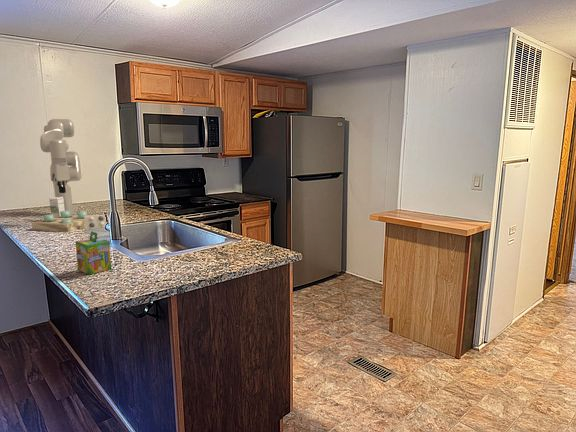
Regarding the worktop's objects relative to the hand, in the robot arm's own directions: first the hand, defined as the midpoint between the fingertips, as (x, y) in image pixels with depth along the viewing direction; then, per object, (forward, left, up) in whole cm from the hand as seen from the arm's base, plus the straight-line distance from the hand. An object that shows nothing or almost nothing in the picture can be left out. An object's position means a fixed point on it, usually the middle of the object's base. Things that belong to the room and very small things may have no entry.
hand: (62, 192), depth 239 cm
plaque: (+5, +26, -19) cm, 32 cm away
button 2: (0, 0, -15) cm, 15 cm away
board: (+6, +6, -19) cm, 20 cm away
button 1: (+12, 0, -15) cm, 19 cm away
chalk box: (+70, +79, -19) cm, 107 cm away
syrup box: (-8, -13, -19) cm, 24 cm away
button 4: (0, +12, -15) cm, 19 cm away
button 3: (+12, +12, -17) cm, 24 cm away
